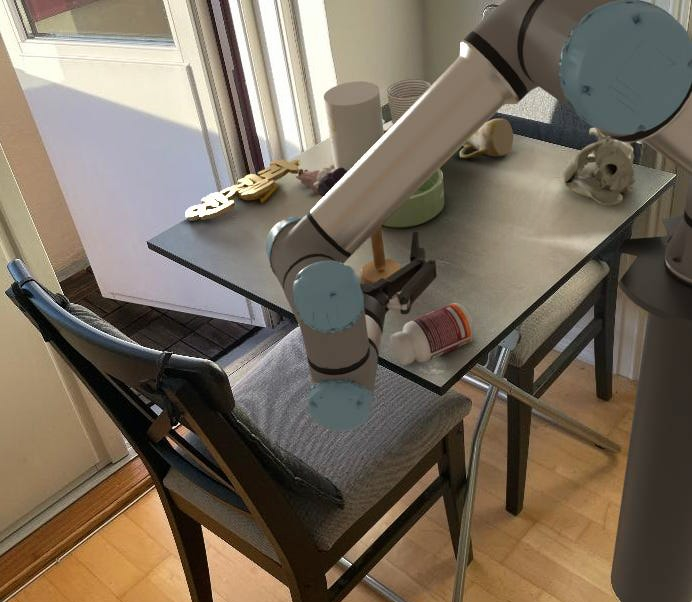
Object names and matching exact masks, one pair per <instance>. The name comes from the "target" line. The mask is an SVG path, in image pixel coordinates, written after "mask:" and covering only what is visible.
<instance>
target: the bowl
mask: <svg viewBox="0 0 692 602" xmlns="http://www.w3.org/2000/svg"><path fill="white" fill-rule="evenodd" d="M444 206H445V189H444V176H443V171H442V170H441V168H439V169H438V170H437V171H436V172H435V173H434V174H433V175H432V176H431V177H430V178H429V179H428V180H427V181H426V182H425V183H424V184H423V185H422V186H421V187H420V188H419V189H418V190H417V191H416V192H415V193H414V194H413V195H412V196H411V197H410V198H409V199H408V200H407V201H406V202H405V203H404V204H403V205H402V206H401V207H400V208H399V209H398V210H397V211H396V212H395V213H394V214H393V215H392V216H391V217H390V218H389V219H388V220H387V221H386V222H385V223H384V224H383V225H382V226H384V227H387V228H388V227H389V228H411V227H415V226H419V225H423V224H425V223H427V222H429V221H430V220H432V219H434V218H435V217H436V216H438V215H439V214H440V212H442V211H443V209H444Z"/></svg>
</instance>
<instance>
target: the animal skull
mask: <svg viewBox="0 0 692 602" xmlns="http://www.w3.org/2000/svg"><path fill="white" fill-rule="evenodd" d="M588 132H589V133H588V135H591V136H592V135H594V136H595V137H596V138H597V141H596V142H593V143H592V142H591V143H589V144H588V145H586V146H585V147H583V148H582V149H581V150H580V151H579V152H578V153H577V154H575V155H574V156H572V157H571V158H570V159H569V160H568V161H567V163H566V166H565V167H564V169H563V171H562V179H563V183H564V186H566V187H567V188H569V189H570V190H571V191H572V192H574V193H576V194H578V195H580V196H582V197H585V198H589V199H592V200H593V201H594V202H596V203H598V204H599V205H604V206H612V205H613V206H614V205H617V204H620V203H622V202H623V200H624V197H623V194H622V193H624V194H627V193H629V194H630V193H632V191H633V189H634V187H632V185H634V184H635V182H636V180H635V170H634V168H633V165H634V159H635V154H634V147H633V146H632V145H631V143H625V142H620V141H617V140H615V139H613V138H612V137H610V136H609V135H608V134H606V133H605V132H603V131H602V130H600V129H599V128H595V127H591V128H589V131H588ZM589 163H590V164H591V163H595V167H594V168H593V170H591V171H590V172H589V173H588V174H587V175H586V176H582V175H580V174H581V173H580V172H582V170H583V169H585V166H588V164H589ZM602 180H605V183H606V185H603V186H602Z"/></svg>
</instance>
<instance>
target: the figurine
mask: <svg viewBox="0 0 692 602" xmlns="http://www.w3.org/2000/svg"><path fill="white" fill-rule="evenodd" d="M347 172H348V171H347V170H345V169H344V168H342V167H339V168H335V166H334V165H330V166H327V167H322V168H321V169H320V170H317V169H316V170H308V169H303V168H300V169H299V173H298V175H295V178H296V179H297V180H299V181H300V183H301V184H302V185H305V186H307V187H308V188H311V190H312V191H314V193H315V194H317V195H319V194H320V196H321V197H322V198H323V197H324V196H325V195H326V194H327V193H328V192H329V191H330V190H331V189H332V188H333V187H334V186H335V185H336V184H337V183H338V182H339V181H340V180H341V179H342V178H343V176H344V175H345V174H346V173H347Z"/></svg>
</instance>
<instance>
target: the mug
mask: <svg viewBox="0 0 692 602" xmlns="http://www.w3.org/2000/svg"><path fill="white" fill-rule="evenodd" d="M513 142H514V132H513V129H512V126H511V124H510V122H509V120H508V119H505V118H493V119H489V120H488V121H487V122H486V123H485V124H484V125H483V126H482V127H481V128H480V129H479V130H478V131H477V132H476V133H475V134H474V135H473V136H472V137H471V138H470V139H469V140H468V141H467V142H466V143H464V144H463V145H462V146H463V148H462V149H461V150H460V151H459V157H460V158H461V159H465V160H468V159H471V158H475V157H476V156H481V155H484V154H485V155H487V156H490V157H502V156H506V155H508V154H509V153H510V151H511V149H512V146H513ZM467 150H476V151H473V152H471V153H469V154H465V152H466V151H467Z"/></svg>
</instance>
